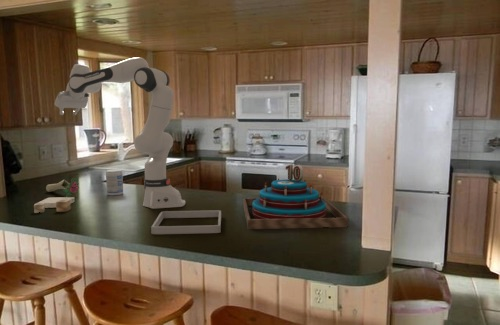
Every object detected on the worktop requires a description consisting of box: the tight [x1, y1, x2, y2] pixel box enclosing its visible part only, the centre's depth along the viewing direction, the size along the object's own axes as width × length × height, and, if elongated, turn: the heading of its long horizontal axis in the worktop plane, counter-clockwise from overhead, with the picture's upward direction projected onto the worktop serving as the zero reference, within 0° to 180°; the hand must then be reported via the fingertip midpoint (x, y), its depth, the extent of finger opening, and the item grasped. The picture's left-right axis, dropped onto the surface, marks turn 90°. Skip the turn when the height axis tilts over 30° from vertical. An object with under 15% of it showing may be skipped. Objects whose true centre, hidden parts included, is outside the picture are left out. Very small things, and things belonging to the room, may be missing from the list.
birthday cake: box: [252, 163, 327, 219], centre depth 187 cm, size 35×35×24 cm
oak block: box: [55, 200, 72, 213], centre depth 199 cm, size 5×5×5 cm
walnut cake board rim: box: [242, 196, 349, 230], centre depth 188 cm, size 43×43×4 cm
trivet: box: [37, 196, 76, 209], centre depth 211 cm, size 14×14×2 cm
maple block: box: [33, 202, 46, 214], centre depth 196 cm, size 4×4×4 cm
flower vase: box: [45, 177, 80, 197], centre depth 236 cm, size 12×12×35 cm
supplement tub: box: [105, 169, 124, 196], centre depth 238 cm, size 10×10×15 cm
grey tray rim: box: [150, 210, 222, 235], centre depth 172 cm, size 28×26×3 cm
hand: (68, 114), depth 223 cm, fingers open, 8 cm apart
